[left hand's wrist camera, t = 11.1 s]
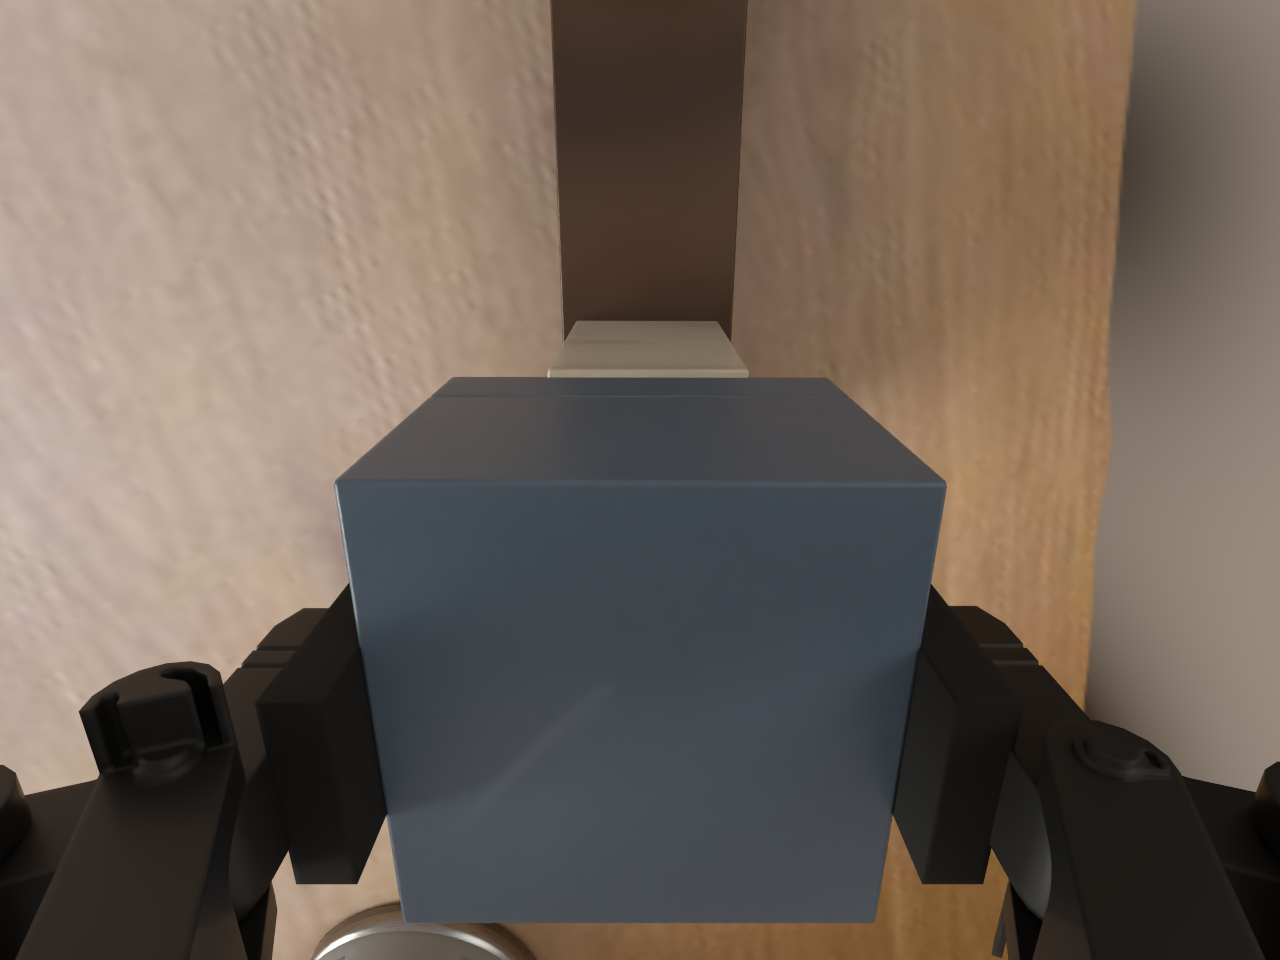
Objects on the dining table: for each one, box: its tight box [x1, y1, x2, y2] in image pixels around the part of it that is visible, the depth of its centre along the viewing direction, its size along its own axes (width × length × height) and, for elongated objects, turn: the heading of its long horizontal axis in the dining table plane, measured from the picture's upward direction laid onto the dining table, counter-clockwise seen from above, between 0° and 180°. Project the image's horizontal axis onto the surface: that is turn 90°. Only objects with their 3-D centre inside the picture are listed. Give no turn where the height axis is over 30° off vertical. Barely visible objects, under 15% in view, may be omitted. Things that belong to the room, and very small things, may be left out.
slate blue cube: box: [334, 377, 947, 923], centre depth 12 cm, size 7×7×6 cm
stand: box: [548, 0, 749, 378], centre depth 21 cm, size 26×6×16 cm, turn 0°
